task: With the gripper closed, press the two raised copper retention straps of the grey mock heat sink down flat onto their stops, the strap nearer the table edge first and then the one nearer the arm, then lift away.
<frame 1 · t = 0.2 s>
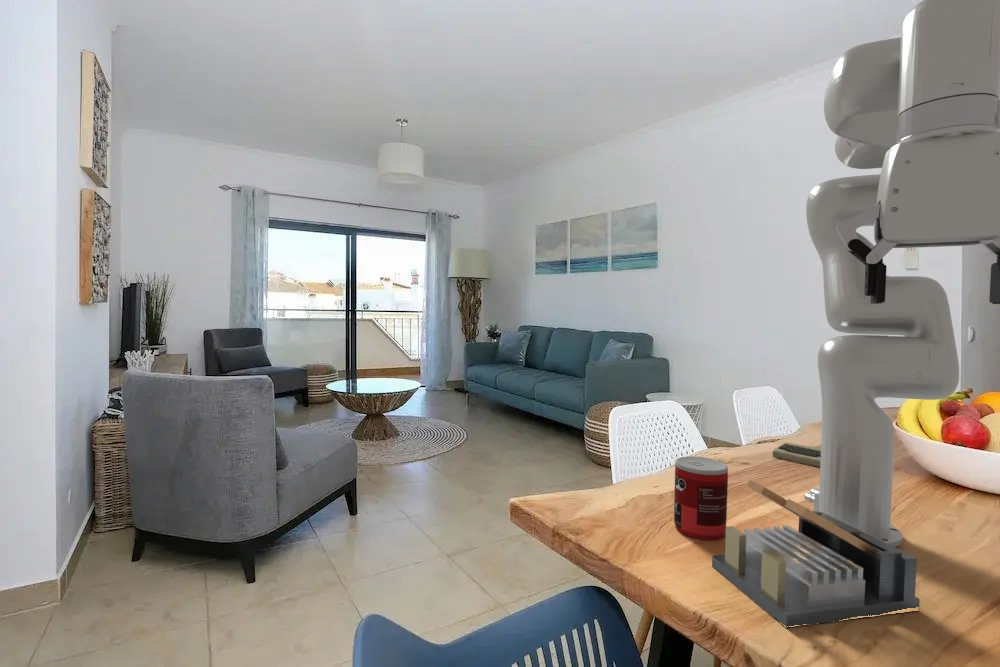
hand: (936, 303, 51), 36 cm above the table, tool pointing down, fingers open, 9 cm apart
canned food: (699, 531, 83), on the table
heatsink block: (807, 587, 66), on the table
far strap: (791, 508, 69), point 9 cm above the table, hinge at 30.0°
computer: (814, 464, 121), on the table
near strap: (835, 530, 62), point 9 cm above the table, hinge at 30.0°
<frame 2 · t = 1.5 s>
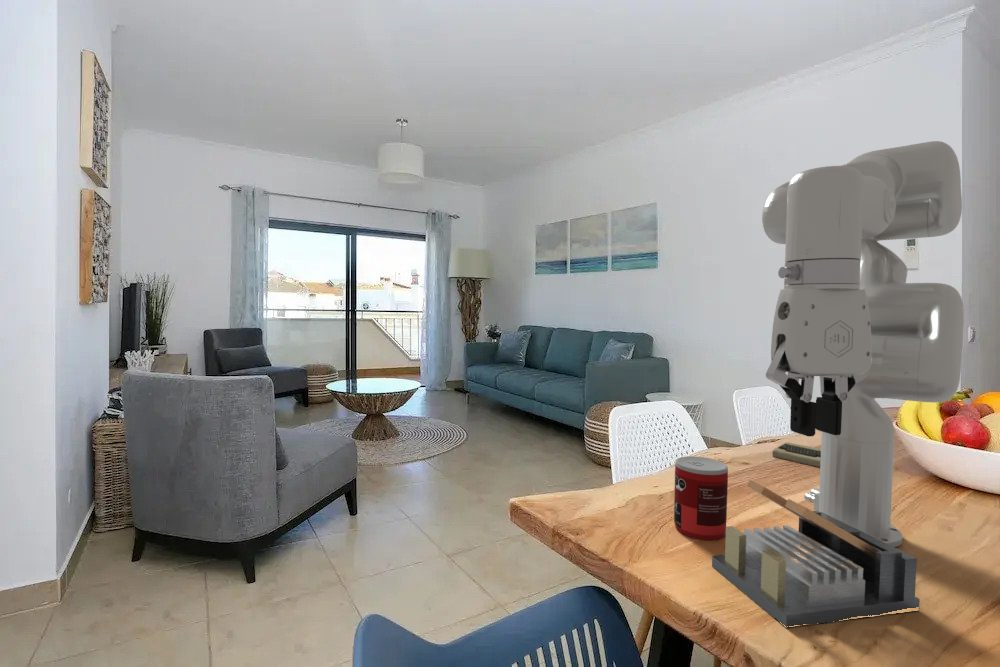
hand: (815, 431, 61), 21 cm above the table, tool pointing down, fingers closed
nothing on the table moved.
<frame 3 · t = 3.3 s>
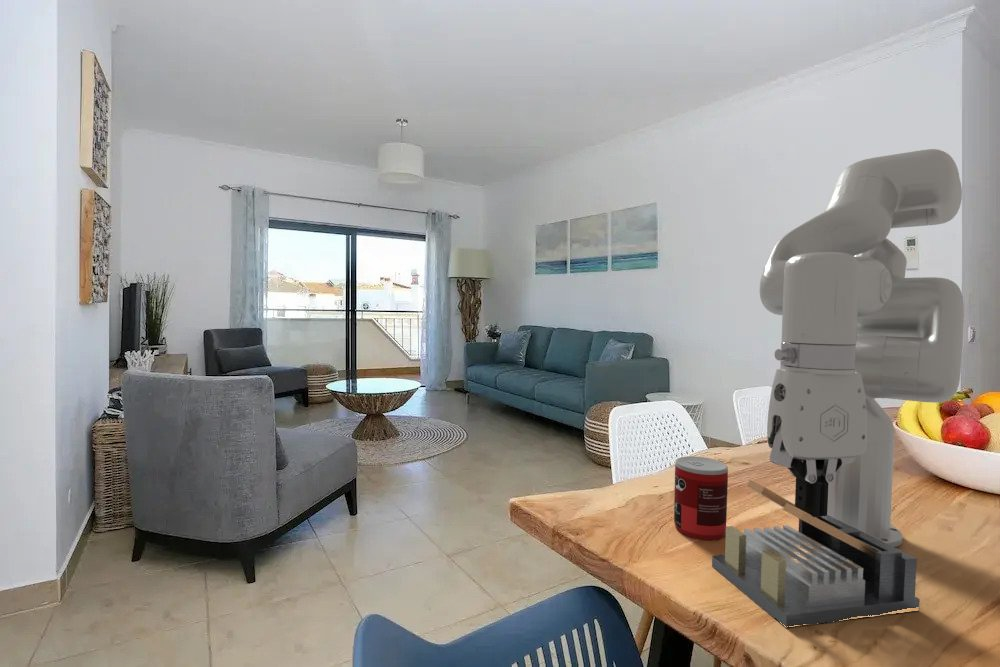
hand: (810, 512, 61), 12 cm above the table, tool pointing down, fingers closed
near strap: (834, 531, 62), point 9 cm above the table, hinge at 27.7°, touching gripper
everything else where it was.
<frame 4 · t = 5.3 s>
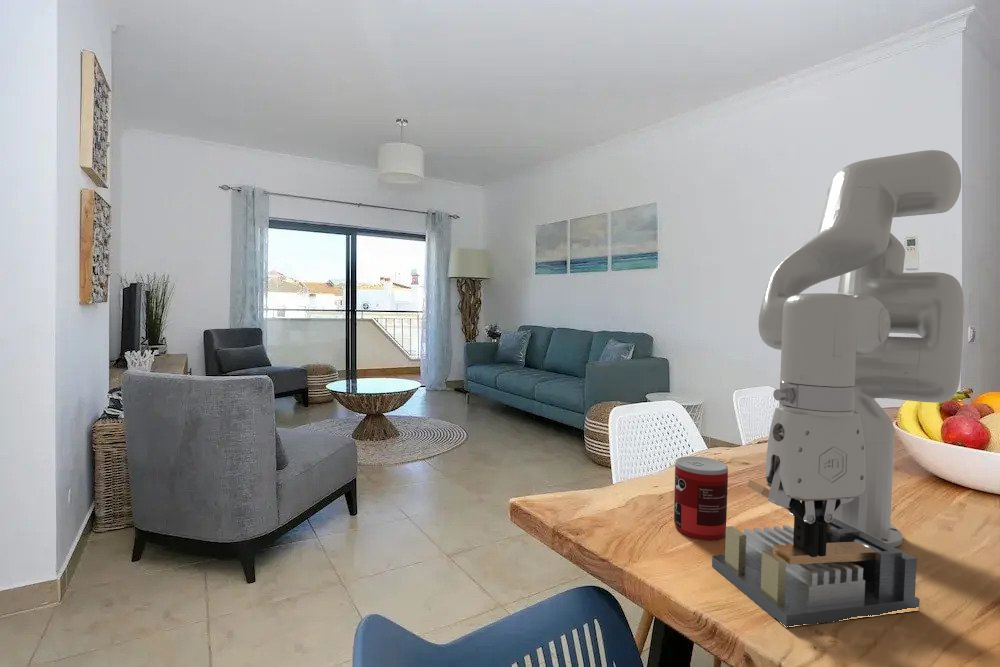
hand: (809, 551, 61), 7 cm above the table, tool pointing down, fingers closed
near strap: (828, 552, 62), point 6 cm above the table, hinge at 2.7°, touching gripper
everything else where it was.
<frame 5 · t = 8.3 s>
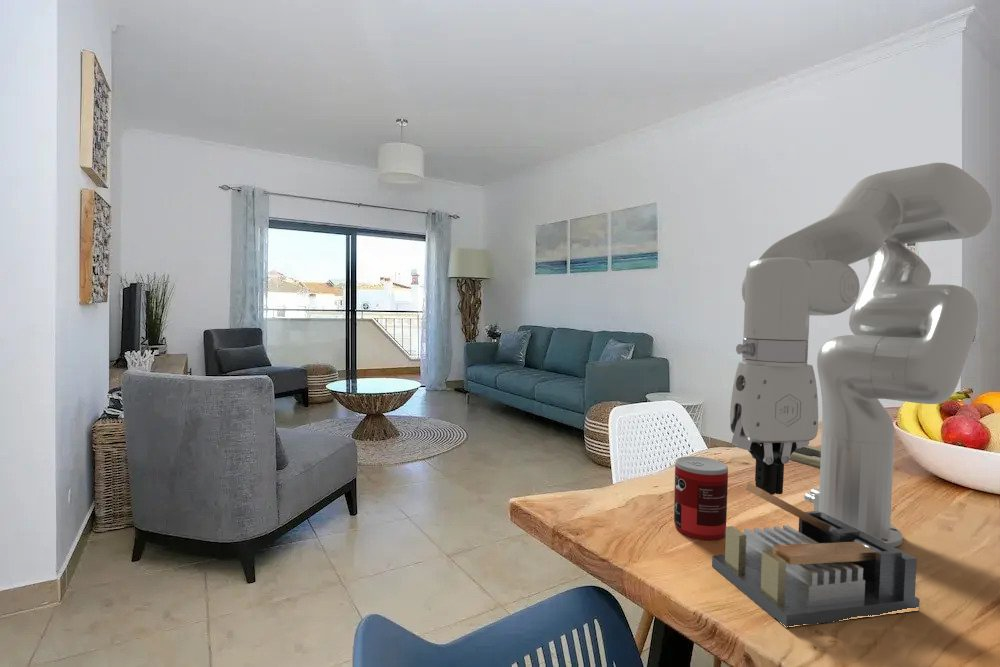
hand: (768, 490, 68), 12 cm above the table, tool pointing down, fingers closed
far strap: (791, 509, 69), point 9 cm above the table, hinge at 28.0°, touching gripper
near strap: (828, 552, 62), point 6 cm above the table, hinge at 2.5°
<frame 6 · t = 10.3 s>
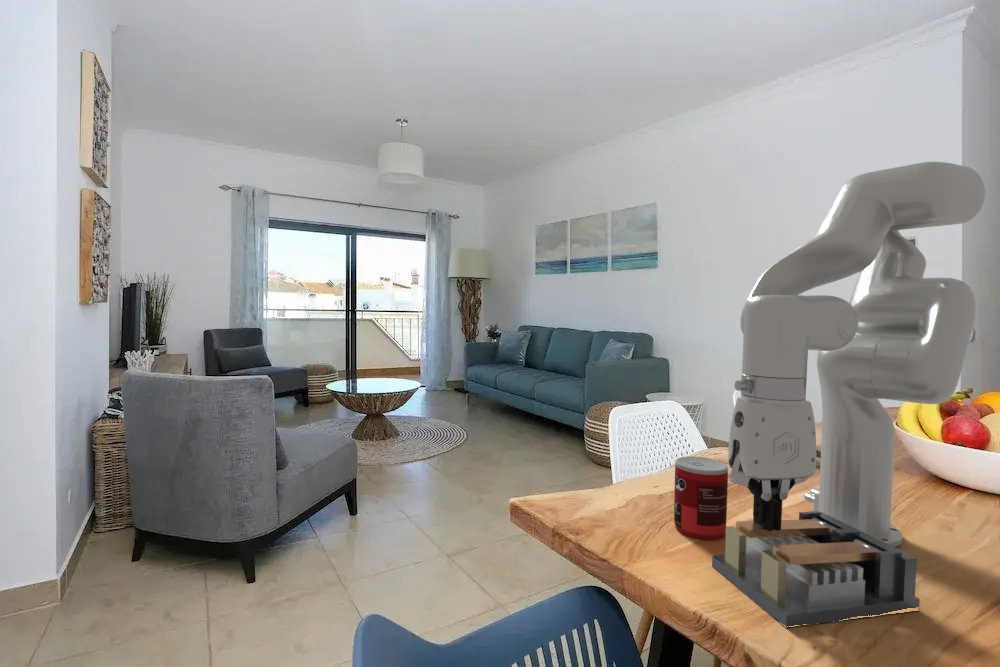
hand: (766, 526, 68), 7 cm above the table, tool pointing down, fingers closed
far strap: (786, 528, 69), point 6 cm above the table, hinge at 2.7°, touching gripper
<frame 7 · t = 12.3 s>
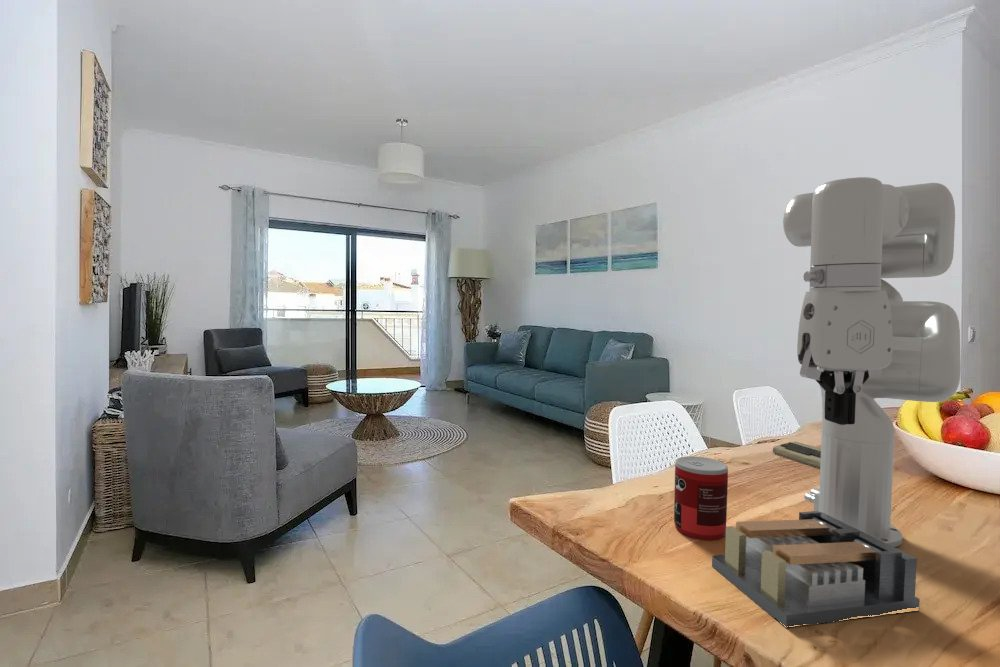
hand: (839, 421, 67), 21 cm above the table, tool pointing down, fingers closed
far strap: (786, 528, 69), point 6 cm above the table, hinge at 2.5°
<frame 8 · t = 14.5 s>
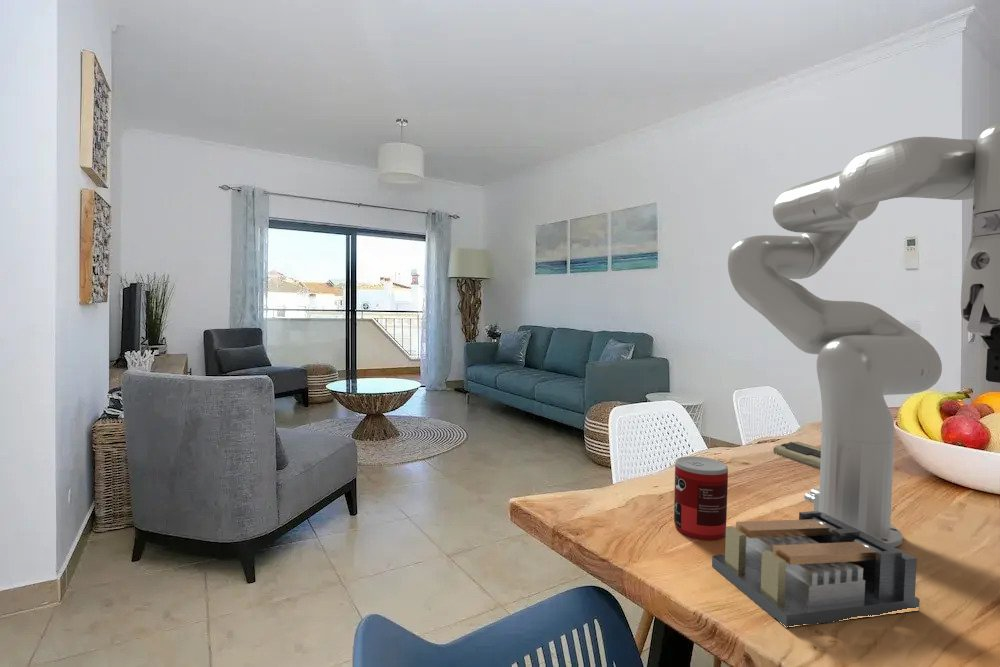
at the end: near strap at +2° (first picture: +30°); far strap at +2° (first picture: +30°) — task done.
